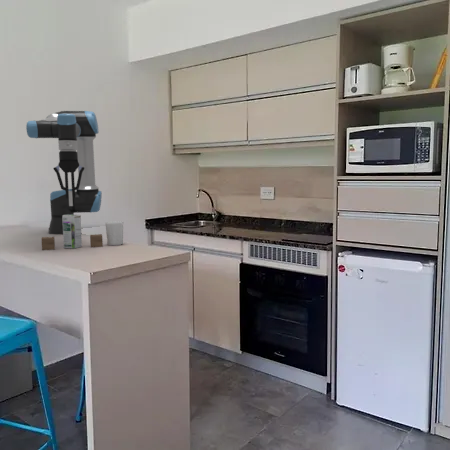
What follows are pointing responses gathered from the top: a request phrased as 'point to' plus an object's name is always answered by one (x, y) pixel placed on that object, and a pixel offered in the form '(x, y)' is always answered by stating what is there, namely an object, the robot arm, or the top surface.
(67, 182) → the robot arm
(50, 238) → the walnut block seven
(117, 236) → the white cup
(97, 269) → the top surface
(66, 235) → the syrup box
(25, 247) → the top surface
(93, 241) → the walnut block one
